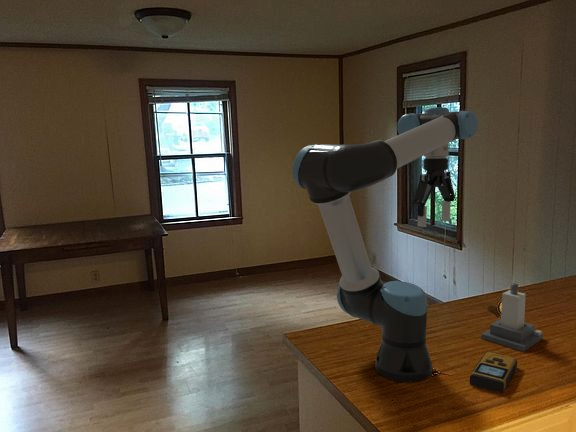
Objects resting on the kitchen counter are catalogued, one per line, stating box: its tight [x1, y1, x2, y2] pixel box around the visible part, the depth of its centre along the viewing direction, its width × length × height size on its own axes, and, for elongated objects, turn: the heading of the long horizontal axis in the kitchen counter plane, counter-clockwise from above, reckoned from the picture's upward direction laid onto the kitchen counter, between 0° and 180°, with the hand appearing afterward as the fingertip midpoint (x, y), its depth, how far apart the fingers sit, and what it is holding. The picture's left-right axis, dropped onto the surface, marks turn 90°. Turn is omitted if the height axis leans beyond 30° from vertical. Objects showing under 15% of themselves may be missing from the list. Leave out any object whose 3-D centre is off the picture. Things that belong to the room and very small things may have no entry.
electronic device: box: [469, 351, 518, 394], centre depth 128 cm, size 9×16×4 cm, turn 144°
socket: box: [480, 318, 544, 352], centre depth 150 cm, size 13×13×4 cm
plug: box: [500, 282, 527, 330], centre depth 148 cm, size 4×5×16 cm
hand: (434, 223), depth 157 cm, fingers open, 13 cm apart
